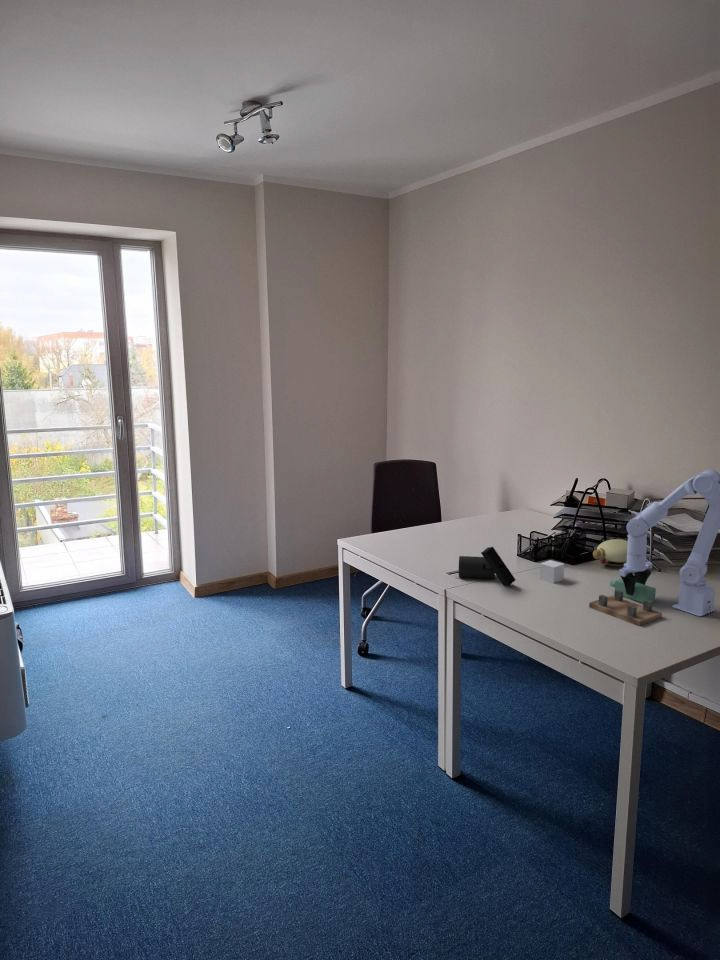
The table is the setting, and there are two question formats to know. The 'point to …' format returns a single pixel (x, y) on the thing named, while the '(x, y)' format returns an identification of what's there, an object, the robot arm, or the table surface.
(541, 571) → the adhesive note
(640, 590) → the green bottle
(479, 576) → the track light
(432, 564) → the table surface
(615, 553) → the cream rounded piece
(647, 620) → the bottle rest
